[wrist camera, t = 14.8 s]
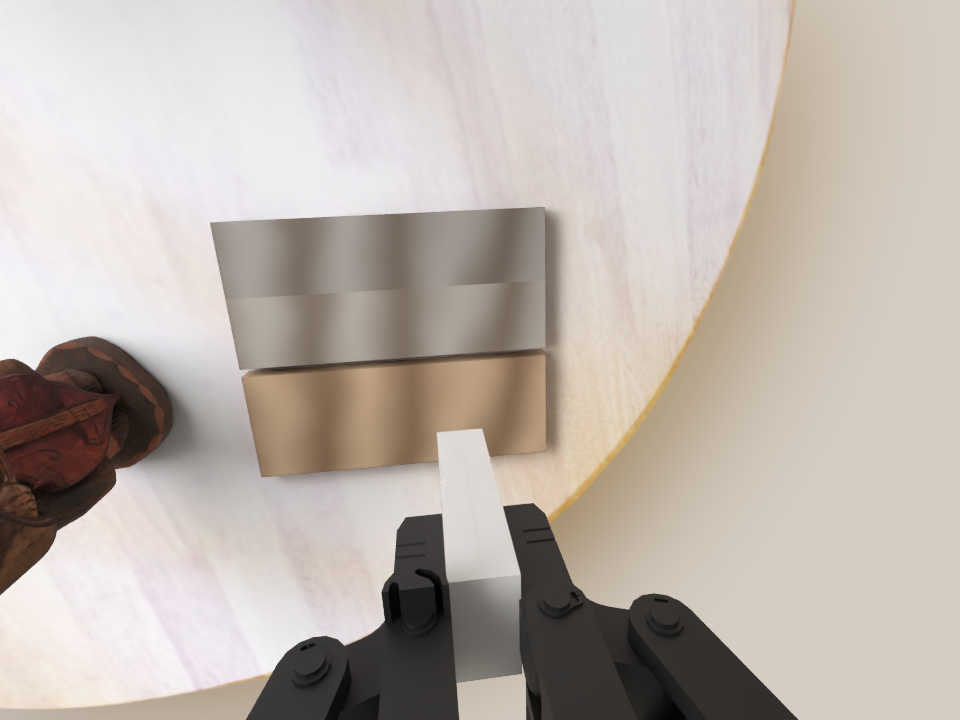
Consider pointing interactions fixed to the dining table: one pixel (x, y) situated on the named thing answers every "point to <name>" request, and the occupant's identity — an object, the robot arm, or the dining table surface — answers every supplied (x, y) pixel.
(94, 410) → the figurine
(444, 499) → the robot arm
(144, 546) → the dining table surface
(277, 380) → the plank
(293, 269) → the laid strip
